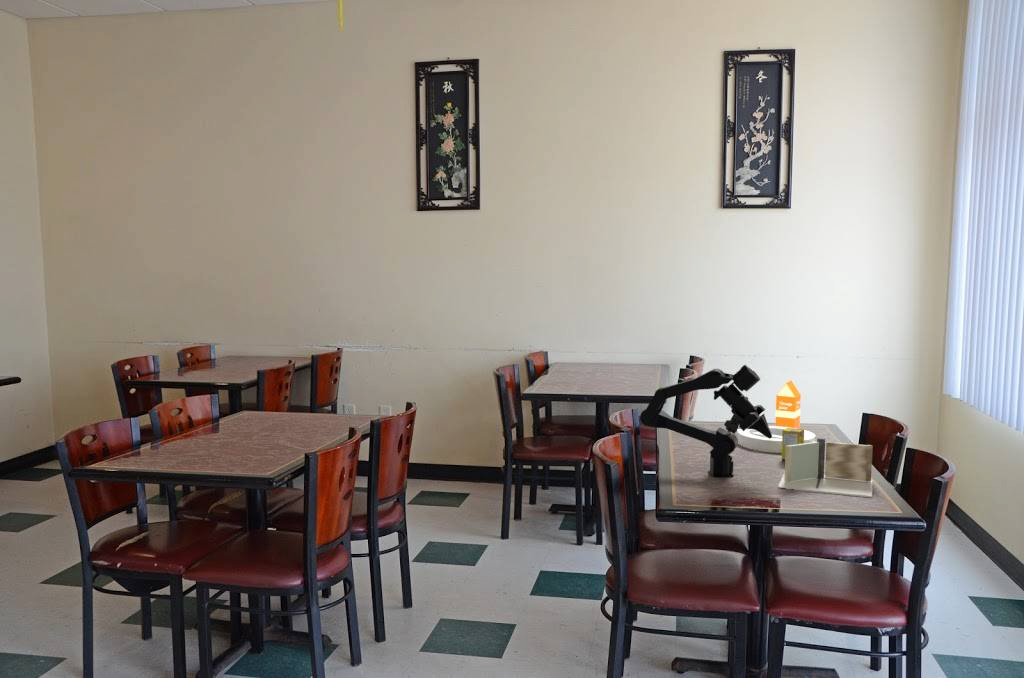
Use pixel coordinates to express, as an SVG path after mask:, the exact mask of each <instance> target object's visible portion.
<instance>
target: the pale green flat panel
mask: <svg viewBox="0 0 1024 678" xmlns="http://www.w3.org/2000/svg"><path fill="white" fill-rule="evenodd" d="M818 461H819V442H817V441H815V442H811V443H804V444H796V445H787V446H785V461H784V472H785V476H784V481H785V482H791V481H798V480H804V479H810V478H817V477H818Z"/></svg>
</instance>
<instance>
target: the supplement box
mask: <svg viewBox="0 0 1024 678" xmlns="http://www.w3.org/2000/svg"><path fill="white" fill-rule="evenodd" d="M804 430H805V429H803V428H802V429H801V428H799V429H795V428H786V429H784V430H783V433H782V453H781V462H785V446H787V445H796V444H804Z"/></svg>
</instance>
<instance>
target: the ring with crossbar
mask: <svg viewBox="0 0 1024 678" xmlns="http://www.w3.org/2000/svg"><path fill="white" fill-rule="evenodd" d="M768 426H769V429H770V431H771V434H772V437H771V438H770V439H769V438H768V437H766V436H764V435H763V434H761V433H760V432H758V431H757V430H755V429H748V428H747V429H746V430H745V431H744V432H743V430H742V429H741V428H738V429H737V431H736V432H735V434H734V433H732V432H731V433H732V434H734V435H735V436H736V437H737V439H738V445H739V446H740V445H741V447H742V446H743V447H742V448H745V447H746V448H745V449H748V448H749V450H752V449H753V451H757V450H758V451H759V452H765V453H774V454H775V453H778V454H782V433H783V430H784V429H786V428H791V427H781V426H775V425H768ZM795 429H797V428H795ZM816 439H817V438H816V434H815V433H814V432H811V431H809V430H807V429H804V443H811V442H816ZM758 451H757V452H758Z"/></svg>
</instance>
